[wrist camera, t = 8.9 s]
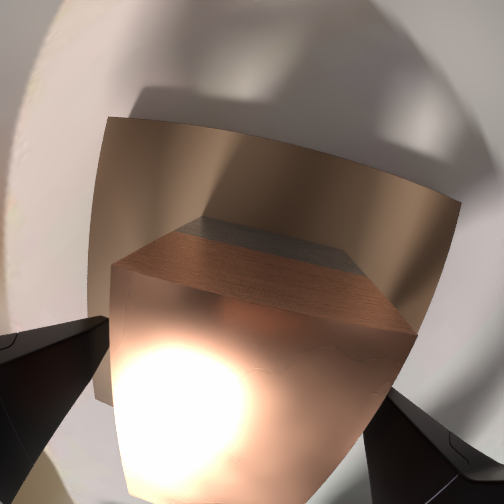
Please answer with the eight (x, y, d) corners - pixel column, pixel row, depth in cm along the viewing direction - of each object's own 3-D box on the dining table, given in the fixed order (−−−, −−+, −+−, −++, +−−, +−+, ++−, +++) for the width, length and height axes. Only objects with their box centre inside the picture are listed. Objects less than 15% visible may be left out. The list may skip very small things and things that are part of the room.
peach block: (282, 415, 12) (281, 527, 6) (175, 390, 12) (129, 494, 6) (342, 249, 10) (417, 335, 4) (201, 215, 10) (111, 265, 4)
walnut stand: (442, 199, 10) (461, 202, 9) (339, 438, 14) (343, 456, 13) (125, 122, 11) (108, 116, 9) (106, 383, 14) (95, 398, 13)
